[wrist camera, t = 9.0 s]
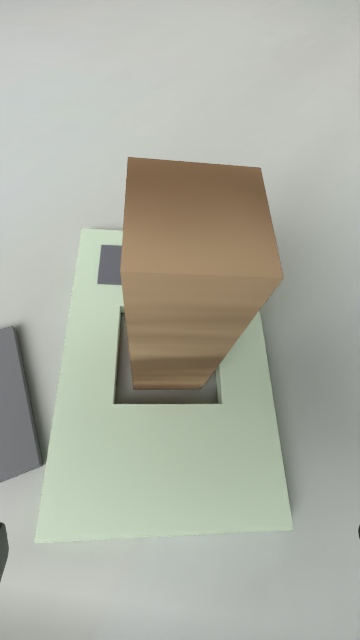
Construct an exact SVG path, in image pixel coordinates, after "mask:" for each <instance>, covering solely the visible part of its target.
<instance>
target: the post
mask: <svg viewBox="0 0 360 640" xmlns="http://www.w3.org/2000/svg"><path fill="white" fill-rule="evenodd" d="M120 274H121V283H122V292H123V301H124V310H125V319H126V328H127V337H128V346H129V355H130V364H131V373H132V382H133V390H157V389H201V388H202V387H203V386H204V384H205V383H206V382H207V380H208V379H209V378H210V376H211V375H212V374H213V372H214V371H215V370H216V368H217V367H218V366H219V364H220V363H221V362H222V360H223V359H224V358H225V356H226V355H227V353H228V352H229V351H230V349H231V348H232V347H233V345H234V344H235V343H236V341H237V340H238V339H239V337H240V336H241V335H242V333H243V332H244V331H245V329H246V328H247V327H248V325H249V324H250V322H251V321H252V320H253V318H254V317H255V316H256V314H257V313H258V312H259V310H260V309H261V308H262V306H263V305H264V304H265V302H266V301H267V300H268V298H269V297H270V296H271V294H272V293H273V291H274V290H275V289H276V287H277V286H278V285H279V283H280V282H281V281H282V279H283V273H282V268H281V263H280V259H279V254H278V249H277V244H276V239H275V235H274V230H273V225H272V220H271V215H270V211H269V206H268V201H267V196H266V191H265V186H264V182H263V177H262V172H261V168H258V167H246V166H233V165H221V164H208V163H196V162H184V161H171V160H159V159H147V158H134V157H128V164H127V179H126V193H125V208H124V223H123V238H122V253H121V268H120Z"/></svg>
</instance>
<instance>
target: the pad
mask: <svg viewBox="0 0 360 640" xmlns="http://www.w3.org/2000/svg"><path fill="white" fill-rule="evenodd" d="M40 466H43V463H42V458H41V453H40V447H39V442H38V437H37V432H36V427H35V422H34V417H33V412H32V407H31V402H30V397H29V392H28V387H27V382H26V377H25V372H24V367H23V362H22V357H21V352H20V347H19V342H18V337H17V332H16V330H15V329H14V327H13V326H11V327H8V328H4V329H1V330H0V482H3V481H5V480H8V479H10V478H13V477H15V476H18V475H20V474H23V473H25V472H28V471H30V470H33V469H35V468H38V467H40Z"/></svg>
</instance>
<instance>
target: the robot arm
mask: <svg viewBox="0 0 360 640" xmlns="http://www.w3.org/2000/svg"><path fill="white" fill-rule="evenodd" d="M358 533H359V538H360V526H359V529H358ZM8 552H9V546H8V539H7V533H6V527H5V524H4V523H2V522H0V581H1V578H2V574H3V571H4V568H5V564H6V561H7V557H8Z"/></svg>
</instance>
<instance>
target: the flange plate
mask: <svg viewBox="0 0 360 640" xmlns="http://www.w3.org/2000/svg"><path fill="white" fill-rule="evenodd" d="M122 238H123V231H120V230H103V229H86V228H82V229H81V235H80V242H79V249H78V255H77V262H76V269H75V275H74V282H73V288H72V295H71V302H70V308H69V315H68V322H67V328H66V335H65V341H64V348H63V355H62V361H61V368H60V374H59V381H58V388H57V394H56V401H55V408H54V414H53V421H52V427H51V434H50V441H49V447H48V454H47V461H46V467H45V474H44V480H43V487H42V494H41V500H40V507H39V513H38V520H37V527H36V533H35V540H34V543H46V542H67V541H87V540H107V539H127V538H147V537H167V536H187V535H207V534H227V533H247V532H267V531H288V530H293V524H292V518H291V511H290V505H289V498H288V492H287V485H286V478H285V472H284V465H283V459H282V452H281V446H280V439H279V433H278V426H277V420H276V413H275V406H274V400H273V393H272V387H271V380H270V374H269V367H268V361H267V354H266V347H265V341H264V334H263V328H262V321H261V315H260V310H259V312H258V313H257V314H256V316H255V317H254V318H253V320H252V321H251V322H250V324H249V325H248V327H247V328H246V329H245V331H244V332H243V333H242V335H241V336H240V337H239V339H238V340H237V341H236V343H235V344H234V345H233V347H232V348H231V349H230V351H229V352H228V353H227V355H226V356H225V358H224V359H223V360H222V362H221V363H220V364H219V366H218V367H217V368H216V381H217V394H218V404H115V394H116V379H117V364H118V350H119V335H120V320H121V313H125V310H124V301H123V292H122V283H121V274H120V268H121V253H122Z"/></svg>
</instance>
